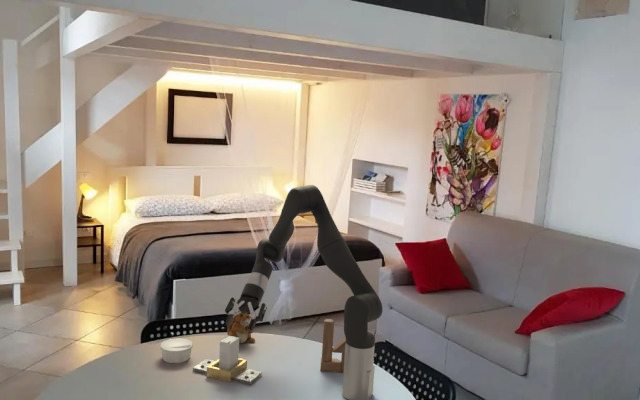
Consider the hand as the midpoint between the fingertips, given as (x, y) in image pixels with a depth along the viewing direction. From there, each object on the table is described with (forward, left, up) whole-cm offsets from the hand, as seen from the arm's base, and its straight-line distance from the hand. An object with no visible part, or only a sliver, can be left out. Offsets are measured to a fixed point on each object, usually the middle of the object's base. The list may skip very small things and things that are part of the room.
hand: (238, 328), depth 188 cm
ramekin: (+22, +4, -14) cm, 26 cm away
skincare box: (0, +6, -14) cm, 15 cm away
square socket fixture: (0, +6, -14) cm, 15 cm away
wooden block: (-32, -14, -14) cm, 38 cm away
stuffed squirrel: (+11, -21, -14) cm, 28 cm away
